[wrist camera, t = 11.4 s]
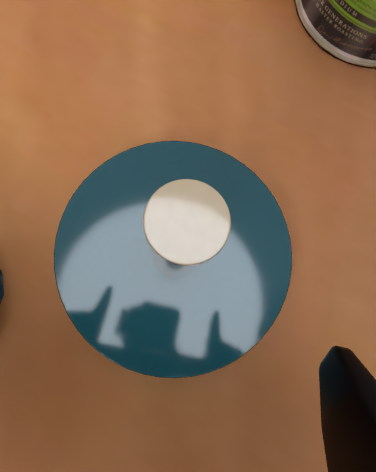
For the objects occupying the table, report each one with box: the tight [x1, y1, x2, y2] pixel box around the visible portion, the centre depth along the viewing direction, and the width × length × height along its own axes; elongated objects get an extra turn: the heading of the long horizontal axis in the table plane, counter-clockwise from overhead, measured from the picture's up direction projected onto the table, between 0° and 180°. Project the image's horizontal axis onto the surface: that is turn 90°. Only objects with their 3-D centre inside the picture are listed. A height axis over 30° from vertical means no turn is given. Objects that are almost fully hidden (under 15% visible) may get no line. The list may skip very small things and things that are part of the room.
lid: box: [54, 141, 292, 378], centre depth 16 cm, size 13×13×10 cm
